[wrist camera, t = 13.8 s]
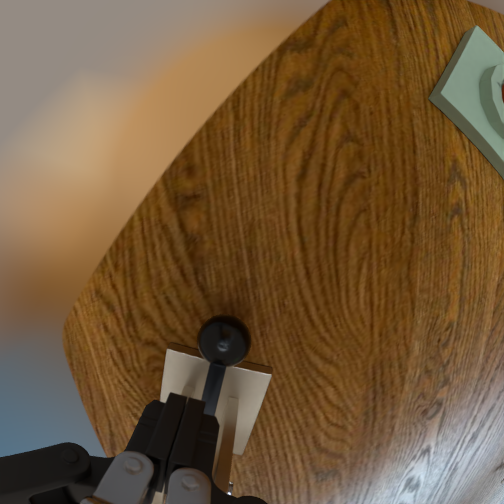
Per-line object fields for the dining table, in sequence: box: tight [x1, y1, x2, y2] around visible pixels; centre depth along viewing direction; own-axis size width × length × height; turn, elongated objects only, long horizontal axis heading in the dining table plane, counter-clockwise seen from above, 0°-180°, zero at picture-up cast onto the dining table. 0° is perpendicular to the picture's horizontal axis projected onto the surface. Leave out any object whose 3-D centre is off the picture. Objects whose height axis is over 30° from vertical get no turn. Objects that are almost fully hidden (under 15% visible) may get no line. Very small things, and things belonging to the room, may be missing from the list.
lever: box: [197, 314, 251, 416], centre depth 19 cm, size 14×4×4 cm, turn 166°
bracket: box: [152, 343, 272, 504], centre depth 22 cm, size 11×9×12 cm
